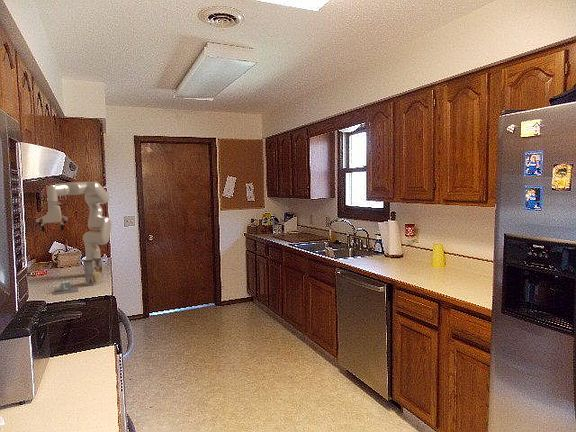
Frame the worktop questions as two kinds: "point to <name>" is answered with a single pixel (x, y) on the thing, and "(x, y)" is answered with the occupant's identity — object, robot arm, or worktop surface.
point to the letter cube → (65, 286)
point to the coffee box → (93, 271)
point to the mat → (58, 291)
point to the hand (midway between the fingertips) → (53, 231)
